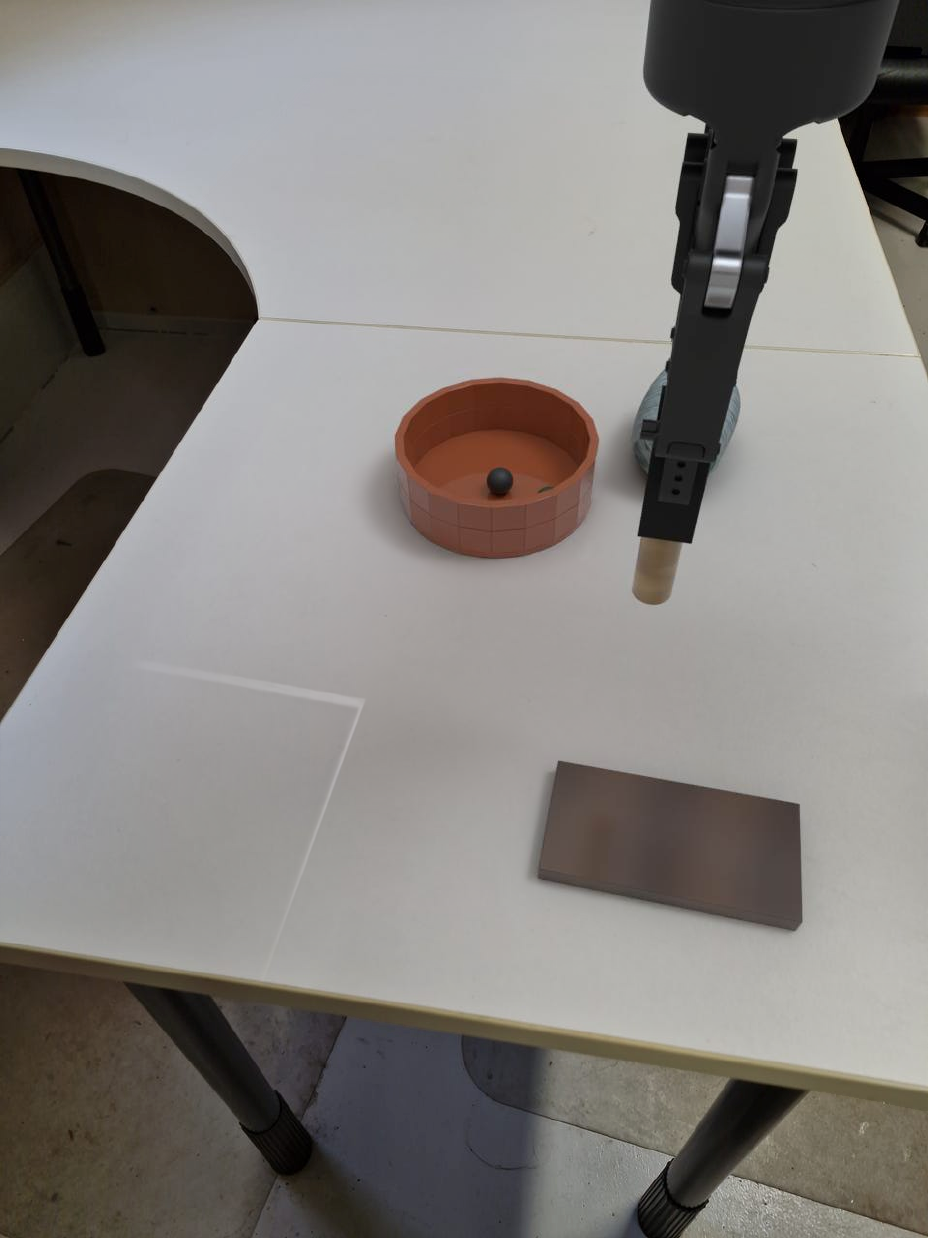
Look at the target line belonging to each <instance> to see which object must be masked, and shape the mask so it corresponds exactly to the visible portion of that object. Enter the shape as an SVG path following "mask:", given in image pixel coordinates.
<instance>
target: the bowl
mask: <svg viewBox="0 0 928 1238" xmlns="http://www.w3.org/2000/svg"><path fill="white" fill-rule="evenodd" d="M599 446H600V437H599V433H598V430H597V427H596V424H595V420H594V418H592V416H591V415H590V414H589V413H588V412H587V410H586V409H585V408H584V407H583V406H582V405H581V403H580V402H579V401H577V400H575V399H574V398H572V397H570V396H569V395H567V394H566V393H564V392H562V391H560V390H559V389H558V388H555V387H552V386H548V385H545V384H542V383H539V382H536V381H532V380H529V379H521V378H520V379H519V378H510V377H502V376H501V377H488V378H476V379H468V380H466V381H461V382H458V383H454V384H451V385H447V386H444V387H441V388H439V389H437V390H436V391H434V392H432V393H430V394H428V395H426V396H425V397H423V398H420V400H418V401H417V402H416V403H415V404H414V405H413V406H412V407H411V408H410V409H409V410H408V411H407V412H406V413H405V414H404V415H403V416H402V418H401V420H400V422H399V425H398V427H397V429H396V431H395V434H394V451H395V460H396V461H395V462H396V463H395V464H396V470H397V479H398V487H399V488H398V489H399V494H400V496H399V497H400V502H401V505H402V509H403V512H404V513H405V515H406V517H407V519H408V521H409V522H410V523H411V524H412V526H413V527H414V528H415V530H417V531H418V532H419V534H420V535H422V536H423V537H425V538H426V539H428V540H429V541H430V542H432V543H435V545H437V546H438V547H441V548H444V549H446V550H449V551H451V552H454V553H458V554H461V555H466V556H471V557H476V558H484V559H485V558H486V559H505V558H515V557H521V556H527V555H531V554H533V553H537V552H540V551H541V552H542V551H543V550H545V549H549V548H551V547H552V546H555V545H556V544H557V543H560V542H561V541H563V540H565V539H566V538H567V537H569V536H570V535H571V534H573V532H574V531H576V530H577V528H579V527H580V525H581V524H582V523H583V521H584V520H585V519H586V517H587V514H588V513H589V511H590V508H591V505H592V501H593V495H594V489H595V482H596V471H597V465H598V464H597V463H598V455H599ZM498 467H502V468H505V469H507V470H509V471H510V472H511V474H512V476H513V486H512V488H511V489H510V490H509V491H508V492H507V493H505V494H495V493H493V492H492V491H491V490H490V489H489V488H488V486H487V476H488V474H489V473H490V471H492V470H493V469H495V468H498ZM544 487H554V488H552V489H550V490H547V491H544V492H541V493H538V491H539V490H541V489H542V488H544ZM537 493H538V494H537Z"/></svg>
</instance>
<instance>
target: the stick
mask: <svg viewBox="0 0 928 1238" xmlns="http://www.w3.org/2000/svg"><path fill="white" fill-rule="evenodd" d="M683 545H684V543H681V542H674V541H667V540H660V539H653V538H646V537H640V540H639V546H638V551H637V557H636V563H635V568H634V574H633V579H632V580H633V581H632V586H631V592H632V594H633V596H634V598H635V599H636V600H637V601H639V602H640V603H643V604H645V605H649V606H659V605H662V604H665V603H666V602H668V600H669V599H670V598H671V597H672V592H673V587H674V583H675V579H676V575H677V570H678V566H679V565H678V564H679V561H680V556H681V552H682V548H683Z"/></svg>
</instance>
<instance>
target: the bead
mask: <svg viewBox="0 0 928 1238" xmlns="http://www.w3.org/2000/svg"><path fill="white" fill-rule="evenodd" d="M487 486H488V488H489V489H490V490H491V491H492V492H493V493H495V494H505V493H507V492H508V491H509V490H510V489H511V488H512V486H513V476H512V474H511V472H510V471H509V470H507V469H505V468H502V467H498V468H495V469H493V470H492V471H490V473H489V474H488V476H487Z"/></svg>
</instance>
